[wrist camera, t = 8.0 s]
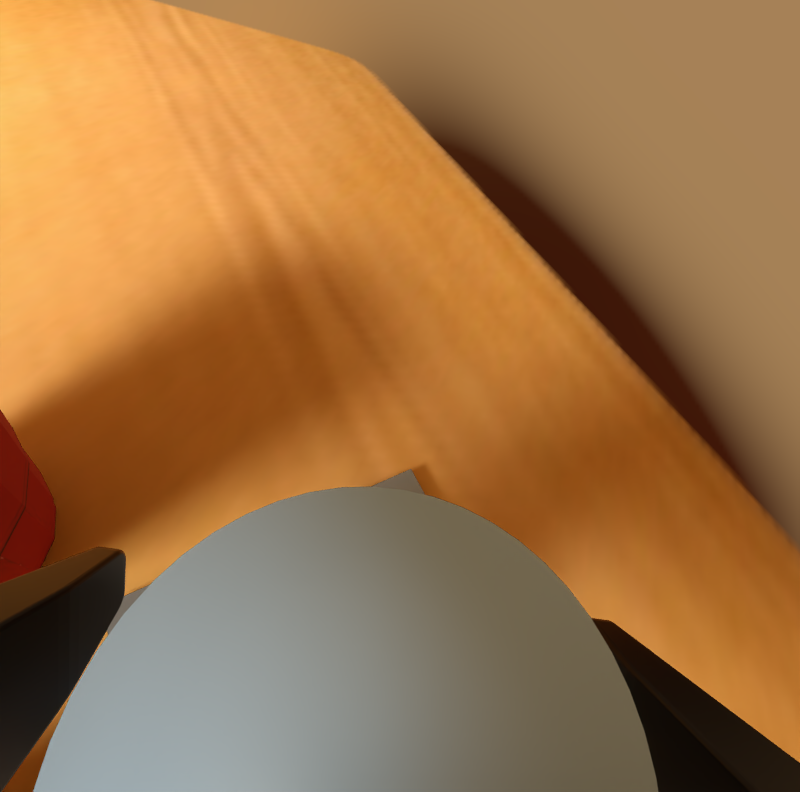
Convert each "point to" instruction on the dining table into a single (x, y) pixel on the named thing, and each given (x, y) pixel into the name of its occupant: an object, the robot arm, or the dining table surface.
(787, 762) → the robot arm
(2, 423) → the plastic cup
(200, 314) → the dining table surface
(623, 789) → the long dowel
